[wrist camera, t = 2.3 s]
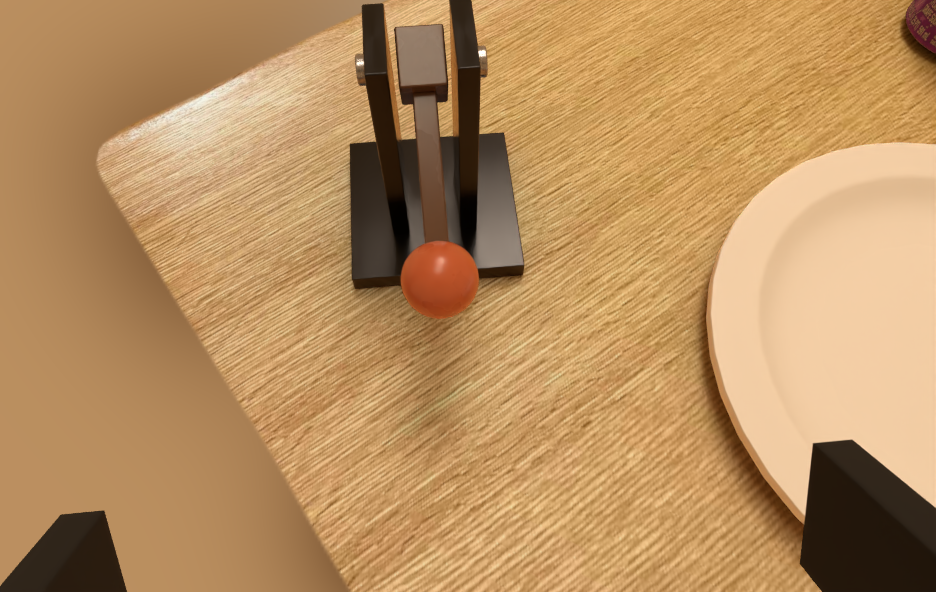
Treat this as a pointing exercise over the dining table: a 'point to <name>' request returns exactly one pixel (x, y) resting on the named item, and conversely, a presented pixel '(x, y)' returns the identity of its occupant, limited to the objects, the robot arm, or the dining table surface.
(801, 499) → the plate
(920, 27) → the beverage can
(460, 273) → the lever rod
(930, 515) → the robot arm
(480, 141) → the rod bracket
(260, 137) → the dining table surface
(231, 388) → the dining table surface
